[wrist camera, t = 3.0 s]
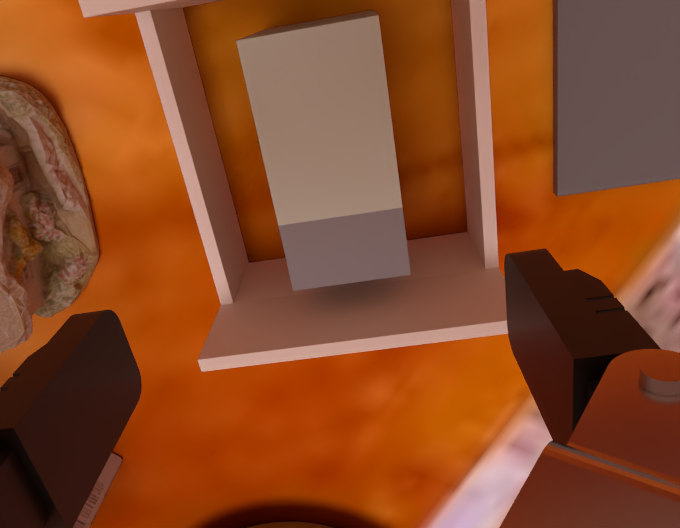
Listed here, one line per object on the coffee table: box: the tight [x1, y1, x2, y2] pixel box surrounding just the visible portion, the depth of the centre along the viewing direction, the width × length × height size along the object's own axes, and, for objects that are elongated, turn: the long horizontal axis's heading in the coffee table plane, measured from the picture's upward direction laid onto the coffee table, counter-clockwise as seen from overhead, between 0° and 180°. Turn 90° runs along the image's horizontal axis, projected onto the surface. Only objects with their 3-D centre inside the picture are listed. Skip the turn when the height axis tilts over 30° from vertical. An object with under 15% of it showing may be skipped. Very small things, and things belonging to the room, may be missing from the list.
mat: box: [553, 0, 680, 196], centre depth 26 cm, size 9×12×1 cm
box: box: [236, 10, 411, 291], centre depth 25 cm, size 5×10×7 cm, turn 9°
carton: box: [78, 0, 508, 372], centre depth 24 cm, size 13×14×9 cm
